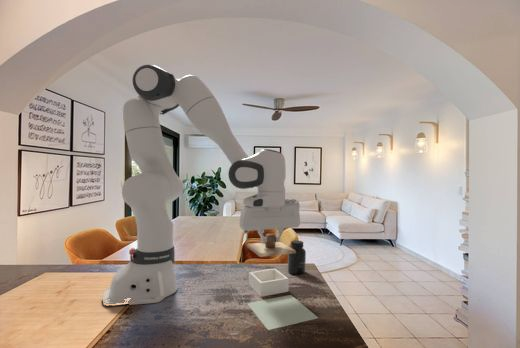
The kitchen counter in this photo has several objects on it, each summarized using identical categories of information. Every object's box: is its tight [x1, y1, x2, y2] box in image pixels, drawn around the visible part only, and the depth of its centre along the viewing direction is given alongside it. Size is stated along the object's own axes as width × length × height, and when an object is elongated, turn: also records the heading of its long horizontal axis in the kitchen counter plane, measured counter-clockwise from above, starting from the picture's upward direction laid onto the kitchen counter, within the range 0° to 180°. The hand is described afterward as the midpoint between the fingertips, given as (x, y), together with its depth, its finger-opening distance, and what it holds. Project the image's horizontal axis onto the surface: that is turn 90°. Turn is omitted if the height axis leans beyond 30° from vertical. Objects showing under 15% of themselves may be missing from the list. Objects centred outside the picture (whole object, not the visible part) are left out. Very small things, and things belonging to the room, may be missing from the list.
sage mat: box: [246, 294, 319, 331], centre depth 80 cm, size 15×15×1 cm
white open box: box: [248, 268, 290, 298], centre depth 95 cm, size 10×10×5 cm
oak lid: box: [246, 233, 296, 258], centre depth 91 cm, size 12×12×5 cm
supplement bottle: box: [287, 240, 307, 276], centre depth 111 cm, size 7×7×12 cm
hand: (270, 242), depth 91 cm, fingers closed on oak lid, 3 cm apart
